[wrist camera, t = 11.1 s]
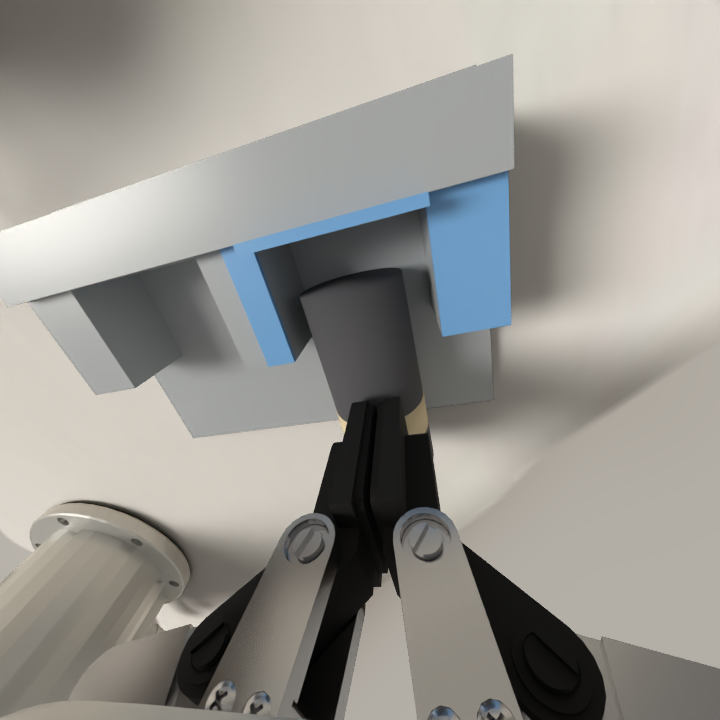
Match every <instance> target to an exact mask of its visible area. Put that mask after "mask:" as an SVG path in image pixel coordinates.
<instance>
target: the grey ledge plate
mask: <svg viewBox="0 0 720 720" xmlns="http://www.w3.org/2000/svg"><path fill="white" fill-rule="evenodd" d="M512 169H514V95H513V54H510V55H508V56H505V57H502V58H499V59H496V60H493V61H490V62H487V63H484V64H482V65H479V66H476V65H473V66H470V67H468V68H465V69H462V70H459V71H456V72H453V73H450V74H447V75H445V76H442V77H439V78H436V79H433V80H430V81H427V82H425V83H422V84H419V85H416V86H413V87H410V88H407V89H404V90H402V91H399V92H396V93H393V94H390V95H387V96H384V97H381V98H379V99H376V100H373V101H370V102H367V103H364V104H361V105H358V106H356V107H353V108H350V109H347V110H344V111H341V112H338V113H335V114H333V115H330V116H327V117H324V118H321V119H318V120H315V121H312V122H310V123H307V124H304V125H301V126H298V127H295V128H292V129H289V130H287V131H284V132H281V133H278V134H275V135H272V136H269V137H266V138H264V139H261V140H258V141H255V142H252V143H249V144H246V145H244V146H241V147H238V148H235V149H232V150H229V151H226V152H223V153H221V154H218V155H215V156H212V157H209V158H206V159H203V160H200V161H198V162H195V163H192V164H189V165H186V166H183V167H180V168H177V169H175V170H172V171H169V172H166V173H163V174H160V175H157V176H154V177H152V178H149V179H146V180H143V181H140V182H137V183H134V184H131V185H129V186H126V187H123V188H120V189H117V190H114V191H111V192H108V193H106V194H103V195H100V196H97V197H94V198H91V199H88V200H85V201H83V202H80V203H77V204H74V205H71V206H68V207H65V208H63V209H60V210H57V211H54V213H52V214H49V215H46V216H43V217H40V218H38V219H35V220H32V221H29V222H26V223H23V224H20V225H17V226H15V227H12V228H9V229H6V230H3V231H0V298H1V300H2V301H3V302H4V303H5V305H6V306H7V307H10V306H14V305H18V304H22V303H26V302H27V303H28V304H29V305H30V307H31V308H32V309H33V311H34V312H35V314H36V315H37V316H38V318H39V319H40V320H41V322H42V323H43V324H44V326H45V327H46V328H47V330H48V331H49V332H50V334H51V335H52V337H53V338H54V339H55V341H56V342H57V343H58V345H59V346H60V347H61V349H62V350H63V351H64V353H65V354H66V355H67V357H68V358H69V360H70V361H71V362H72V364H73V365H74V366H75V368H76V369H77V370H78V372H79V373H80V374H81V376H82V377H83V378H84V380H85V381H86V382H87V384H88V385H89V387H90V388H91V389H92V391H93V392H94V393H95V395H99V394H104V393H110V392H116V391H122V390H127V389H133V388H136V387H137V386H139V385H140V384H142V383H143V382H145V381H146V380H148V379H149V378H151V377H152V376H154V375H155V377H156V379H157V380H158V382H159V384H160V385H161V387H162V388H163V390H164V392H165V393H166V395H167V397H168V398H169V400H170V401H171V403H172V405H173V406H174V408H175V410H176V411H177V413H178V414H179V416H180V418H181V419H182V421H183V422H184V424H185V426H186V427H187V429H188V431H189V432H190V434H191V435H192V437H193V438H198V437H206V436H214V435H222V434H230V433H238V432H246V431H254V430H261V429H269V428H277V427H285V426H293V425H301V424H309V423H317V422H325V421H332V420H339V417H338V414H337V411H336V407H335V404H334V401H333V398H332V394H331V391H330V388H329V385H328V382H327V379H326V376H325V373H324V370H323V367H322V364H321V361H320V358H319V355H318V352H317V349H316V346H315V343H314V340H313V337H312V334H311V331H310V328H309V325H308V322H307V319H306V316H305V313H304V310H303V307H302V304H301V301H300V297H299V296H300V294H301V293H302V292H304V291H305V290H307V289H309V288H311V287H313V286H316V285H318V284H321V283H323V282H326V281H329V280H332V279H335V278H338V277H342V276H345V275H349V274H353V273H357V272H362V271H367V270H373V269H380V268H399V269H401V270H402V274H403V279H404V285H405V291H406V297H407V302H408V308H409V314H410V320H411V326H412V331H413V337H414V343H415V349H416V354H417V360H418V366H419V372H420V378H421V383H422V388H423V392H424V398H425V404H426V409H427V408H435V407H443V406H451V405H459V404H466V403H474V402H482V401H490V400H494V397H493V377H492V358H491V339H490V328H496V327H502V326H508V325H511V285H510V231H509V178H508V171H509V170H512Z"/></svg>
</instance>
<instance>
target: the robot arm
mask: <svg viewBox="0 0 720 720" xmlns="http://www.w3.org/2000/svg"><path fill="white" fill-rule="evenodd" d="M30 540H31V543H32V546H33V547H34V549H35V551H34V552H33V553H32V554H31V555H30V556H28V557H27V558H26V559H25V560H24V561H23V562H22V563H21V564H20V565H19V566H18V567H17V568H16V569H15V570H14V571H13V572H11V573H10V574H9V575H8V576H7V577H6V578H5V579H4V580H3V581H2V582H1V583H0V720H344V716H345V711H346V706H347V700H348V695H349V691H350V685H351V681H352V676H353V671H354V666H355V661H356V656H357V650H358V646H359V641H360V636H361V631H362V626H363V621H364V616H365V603H366V602H367V601H368V600H369V598H370V597H371V596H372V595H373V587H381V580H382V573H388V568H389V571H390V574H391V577H392V580H393V582H394V586H395V589H396V592H397V595H398V596H399V597H400V599H401V603H402V610H403V617H404V625H405V632H406V640H407V647H408V654H409V662H410V669H411V676H412V683H413V691H414V698H415V705H416V713H417V720H720V669H719V668H715V667H711V666H708V665H704V664H700V663H697V662H693V661H690V660H685V659H682V658H679V657H675V656H671V655H668V654H664V653H661V652H657V651H653V650H649V649H646V648H642V647H638V646H635V645H631V644H628V643H624V642H620V641H617V640H613V639H610V638H606V637H602V638H601V641H599V640H596V639H592V638H588V637H585V636H582V635H578V634H575V633H574V632H573V631H572V630H571V629H570V628H569V627H568V626H567V625H565V624H564V623H563V622H562V621H560V620H559V619H558V618H557V617H555V616H554V615H553V614H551V613H550V612H549V611H548V610H547V609H545V608H544V607H543V606H541V605H540V604H539V603H538V602H536V601H535V600H534V599H533V598H531V597H530V596H529V595H528V594H526V593H525V592H524V591H522V590H521V589H520V588H519V587H517V586H516V585H515V584H514V583H512V582H511V581H510V580H509V579H507V578H506V577H505V576H503V575H502V574H501V573H500V572H498V571H497V570H496V569H495V568H493V567H492V566H491V565H490V564H488V563H487V562H486V561H485V560H483V559H482V558H481V557H479V556H478V555H477V554H476V553H474V552H473V551H472V550H471V549H469V548H468V547H467V546H465V545H464V544H463V543H462V542H461V540H460V537H459V535H458V531H457V529H456V527H455V525H454V523H453V522H452V520H451V519H450V518H449V517H448V516H447V515H446V514H444V513H442V512H441V511H440V504H439V497H438V490H437V483H436V476H435V469H434V463H433V457H432V451H431V445H430V439H429V434H428V433H422V434H412V435H409V434H408V430H407V425H406V420H405V416H404V411H403V406H402V401H401V398H400V396H398V397H391V398H384V403H379V404H378V413H377V410H376V407H375V404H369V402H368V401H361V402H354V403H352V404H351V408H350V412H349V417H348V421H347V425H346V429H345V434H344V438H343V442H337V443H334V444H333V445H332V448H331V451H330V455H329V458H328V462H327V466H326V469H325V473H324V477H323V480H322V484H321V487H320V491H319V495H318V498H317V502H316V506H315V509H314V513H312V514H307V515H304V516H301V517H300V518H298V519H297V520H295V521H294V522H293V523H292V524H291V525H290V526H289V527H288V528H287V529H286V530H285V532H284V533H283V535H282V537H281V538H280V540H279V543H278V545H277V547H276V549H275V551H274V553H273V555H272V557H271V559H270V561H269V563H268V565H267V567H266V568H265V569H263V570H262V571H261V572H260V573H259V574H257V575H256V576H255V577H254V578H253V579H252V580H250V581H249V582H248V583H247V584H246V585H244V586H243V587H242V588H241V589H240V590H239V591H237V592H236V593H235V594H234V595H233V596H231V597H230V598H229V599H228V600H227V601H226V602H224V603H223V604H222V605H221V606H220V607H218V608H217V609H216V610H215V611H214V612H212V613H211V614H210V615H209V616H208V617H207V618H206V619H205V620H204V621H203V622H202V623H201V624H200V625H199V626H198V627H193V626H192V625H191V624H189V625H186V626H182V627H179V628H175V629H172V630H168V631H164V630H163V629H162V628H161V627H160V626H159V625H158V624H156V623H154V620H155V618H156V616H157V615H158V613H159V611H160V609H161V608H162V606H163V604H166V603H169V602H172V601H173V600H175V599H177V598H178V597H179V596H180V595H181V594H182V592H183V591H184V589H185V587H186V585H187V583H188V581H189V579H190V569H189V565H188V562H187V560H186V558H185V557H184V555H183V554H182V552H181V551H180V550H179V549H178V547H177V546H176V545H175V544H174V543H173V542H172V541H170V540H169V539H168V538H167V537H166V536H165V535H163V534H162V533H160V532H159V531H158V530H156V529H155V528H153V527H151V526H150V525H148V524H146V523H145V522H143V521H141V520H139V519H137V518H135V517H132V516H130V515H128V514H126V513H123V512H120V511H117V510H114V509H111V508H107V507H103V506H99V505H94V504H85V503H67V504H62V505H58V506H54V507H52V508H51V509H49V510H47V511H46V512H45V513H44V514H43V515H41V516H40V517H39V518H38V519H37V520H36V521H35V522H34V523H33V524H32V526H31V528H30Z"/></svg>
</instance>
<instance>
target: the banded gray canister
mask: <svg viewBox="0 0 720 720" xmlns="http://www.w3.org/2000/svg"><path fill="white" fill-rule="evenodd" d="M299 297H300V301H301V304H302V307H303V310H304V313H305V316H306V319H307V322H308V325H309V328H310V331H311V334H312V337H313V340H314V343H315V346H316V349H317V352H318V355H319V358H320V361H321V364H322V367H323V370H324V373H325V376H326V379H327V382H328V385H329V388H330V391H331V394H332V398H333V401H334V404H335V407H336V411H337V414H338V417H339V420H340V423H341V426H342V429H343V432H344V434H345V429H346V425H347V421H348V417H349V412H350V408H351V404H352V403H354V402H361V401H368V402H369V404H375V407H376V410H377V413H378V404H379V403H384V398H391V397H398V396H400V398H401V401H402V406H403V411H404V416H405V420H406V425H407V430H408V434H409V435H412V434H422V433H428V434H429V439H430V445H431V451H432V457H433V455H434V454H433V447H432V441H431V435H430V430H429V424H428V415H427V409H426V404H425V398H424V392H423V388H422V383H421V378H420V372H419V366H418V360H417V354H416V349H415V343H414V337H413V331H412V326H411V320H410V314H409V308H408V302H407V297H406V291H405V285H404V279H403V274H402V270H401V269H399V268H380V269H373V270H367V271H362V272H357V273H353V274H349V275H345V276H342V277H338V278H335V279H332V280H329V281H326V282H323V283H321V284H318V285H316V286H313V287H311V288H309V289H307V290H305V291H304V292H302V293H301V294H300V296H299Z"/></svg>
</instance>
